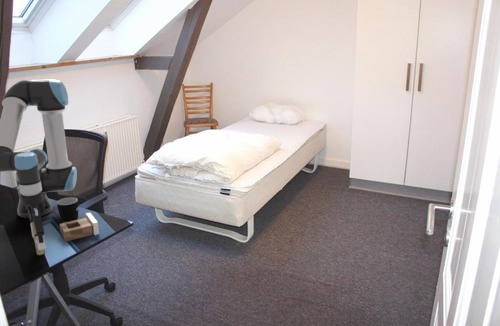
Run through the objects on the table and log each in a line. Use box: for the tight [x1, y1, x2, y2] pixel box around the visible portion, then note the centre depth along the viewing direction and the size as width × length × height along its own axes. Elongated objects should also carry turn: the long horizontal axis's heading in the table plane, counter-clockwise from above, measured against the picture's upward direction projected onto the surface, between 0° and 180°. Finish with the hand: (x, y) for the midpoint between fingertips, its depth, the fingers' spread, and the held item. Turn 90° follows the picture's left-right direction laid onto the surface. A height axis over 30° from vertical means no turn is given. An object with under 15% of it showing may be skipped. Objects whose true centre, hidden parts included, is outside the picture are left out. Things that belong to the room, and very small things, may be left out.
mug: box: [56, 196, 79, 223], centre depth 187 cm, size 12×9×10 cm
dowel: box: [30, 222, 46, 256], centre depth 157 cm, size 3×3×14 cm
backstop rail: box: [85, 212, 100, 236], centre depth 179 cm, size 12×2×6 cm, turn 36°
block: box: [59, 217, 94, 242], centre depth 175 cm, size 9×11×4 cm
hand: (39, 242), depth 158 cm, fingers open, 11 cm apart
